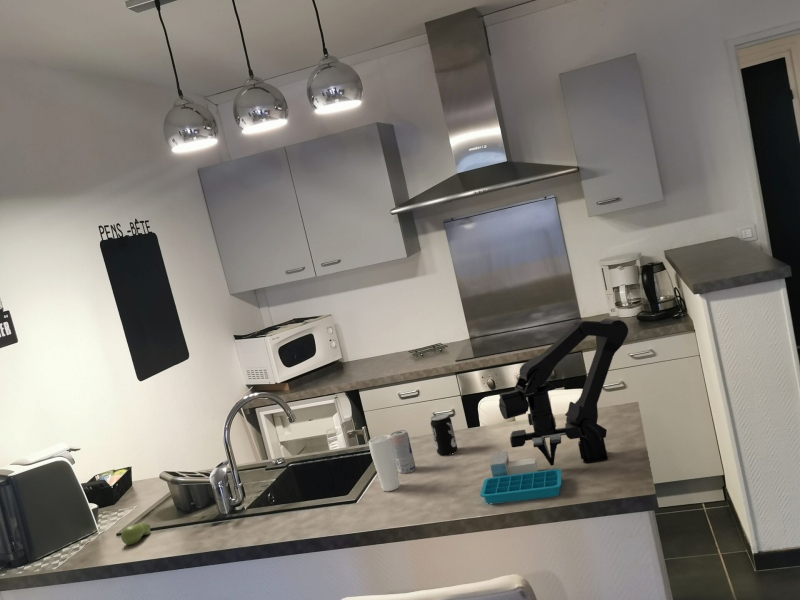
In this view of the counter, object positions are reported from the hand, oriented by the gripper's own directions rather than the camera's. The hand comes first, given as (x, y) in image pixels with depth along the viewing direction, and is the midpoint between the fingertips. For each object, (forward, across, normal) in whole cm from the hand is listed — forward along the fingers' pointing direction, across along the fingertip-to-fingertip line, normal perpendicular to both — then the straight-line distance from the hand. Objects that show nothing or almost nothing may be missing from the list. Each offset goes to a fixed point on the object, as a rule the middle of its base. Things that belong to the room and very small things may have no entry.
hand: (552, 464), depth 190 cm
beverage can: (+2, +34, -27) cm, 43 cm away
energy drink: (+2, +45, -16) cm, 48 cm away
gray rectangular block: (+2, +14, 0) cm, 14 cm away
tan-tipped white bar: (+2, +9, 0) cm, 10 cm away
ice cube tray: (+2, +8, +12) cm, 14 cm away
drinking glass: (+2, +47, -3) cm, 47 cm away
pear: (+2, +123, +10) cm, 123 cm away
